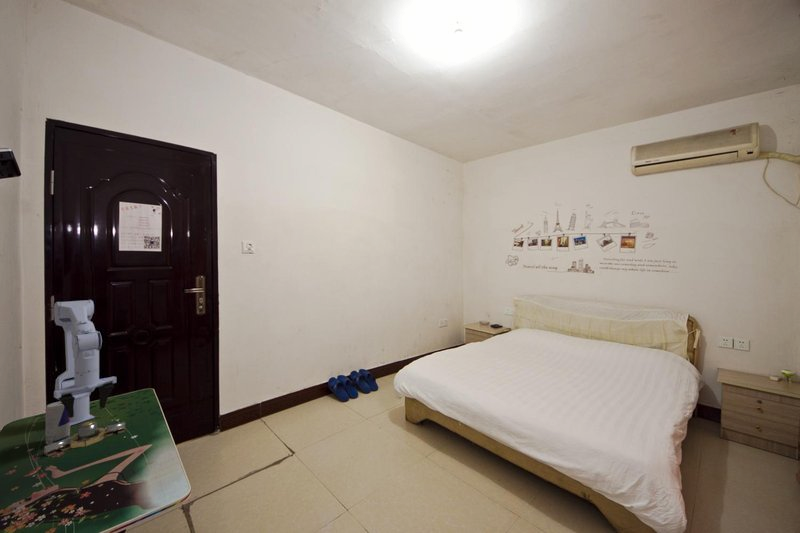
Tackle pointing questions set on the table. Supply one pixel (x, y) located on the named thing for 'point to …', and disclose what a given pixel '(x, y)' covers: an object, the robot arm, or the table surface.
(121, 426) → the shaft
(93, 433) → the hub
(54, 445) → the shaft
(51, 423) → the energy drink
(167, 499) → the table surface
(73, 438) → the collar
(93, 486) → the table surface
